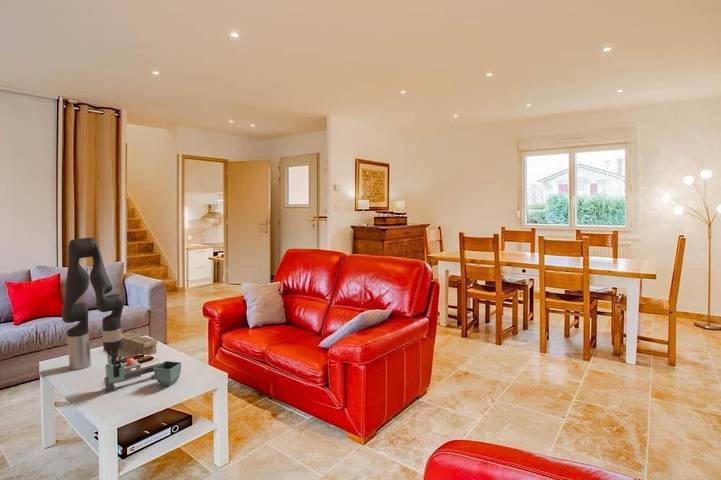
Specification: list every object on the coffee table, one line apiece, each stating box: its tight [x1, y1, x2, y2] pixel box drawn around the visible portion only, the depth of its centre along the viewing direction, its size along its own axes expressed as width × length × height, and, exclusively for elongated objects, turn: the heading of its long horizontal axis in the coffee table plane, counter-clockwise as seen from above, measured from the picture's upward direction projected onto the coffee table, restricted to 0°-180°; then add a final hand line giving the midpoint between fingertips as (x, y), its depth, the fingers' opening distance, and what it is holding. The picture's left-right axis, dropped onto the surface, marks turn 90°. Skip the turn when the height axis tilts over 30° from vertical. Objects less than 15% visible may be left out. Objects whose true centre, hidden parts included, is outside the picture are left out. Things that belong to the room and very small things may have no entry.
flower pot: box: [154, 360, 182, 387], centre depth 192 cm, size 9×9×9 cm
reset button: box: [125, 357, 135, 366], centre depth 201 cm, size 3×3×4 cm
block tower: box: [120, 332, 158, 356], centre depth 238 cm, size 8×8×29 cm
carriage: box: [104, 362, 124, 383], centre depth 188 cm, size 5×6×7 cm
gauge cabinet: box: [123, 360, 142, 381], centre depth 201 cm, size 7×7×6 cm
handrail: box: [101, 362, 161, 395], centre depth 194 cm, size 5×26×6 cm, turn 134°
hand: (115, 374), depth 188 cm, fingers closed on carriage, 5 cm apart
